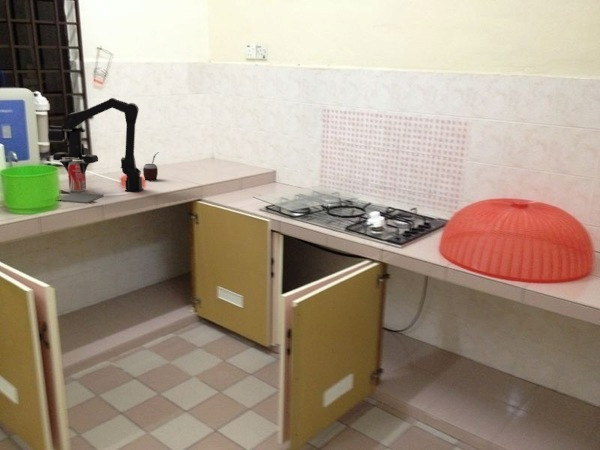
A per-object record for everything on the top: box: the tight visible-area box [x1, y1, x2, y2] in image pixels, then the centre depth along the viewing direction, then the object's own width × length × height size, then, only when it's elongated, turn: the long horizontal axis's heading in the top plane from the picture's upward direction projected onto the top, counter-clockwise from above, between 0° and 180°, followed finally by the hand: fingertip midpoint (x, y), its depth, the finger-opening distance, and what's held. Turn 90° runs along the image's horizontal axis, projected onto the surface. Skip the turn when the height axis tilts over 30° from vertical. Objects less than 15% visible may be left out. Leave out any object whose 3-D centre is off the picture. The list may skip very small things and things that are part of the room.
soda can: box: [67, 160, 87, 193], centre depth 247 cm, size 7×7×13 cm
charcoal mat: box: [60, 192, 104, 204], centre depth 236 cm, size 14×14×1 cm
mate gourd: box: [142, 152, 160, 182], centre depth 275 cm, size 8×8×15 cm
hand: (76, 176), depth 247 cm, fingers closed on soda can, 5 cm apart
